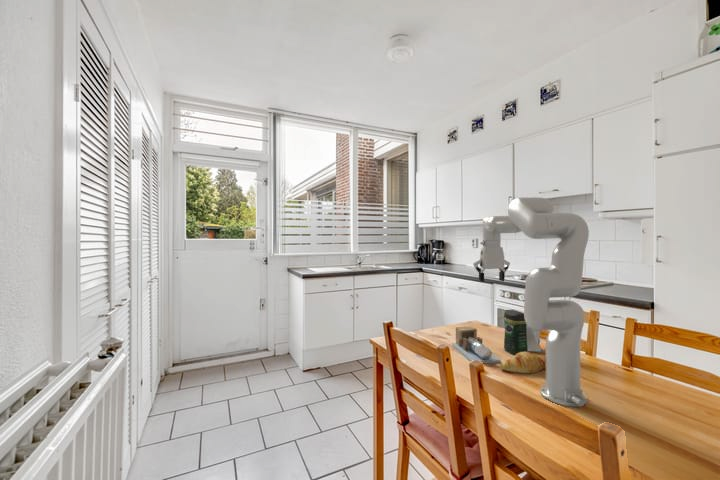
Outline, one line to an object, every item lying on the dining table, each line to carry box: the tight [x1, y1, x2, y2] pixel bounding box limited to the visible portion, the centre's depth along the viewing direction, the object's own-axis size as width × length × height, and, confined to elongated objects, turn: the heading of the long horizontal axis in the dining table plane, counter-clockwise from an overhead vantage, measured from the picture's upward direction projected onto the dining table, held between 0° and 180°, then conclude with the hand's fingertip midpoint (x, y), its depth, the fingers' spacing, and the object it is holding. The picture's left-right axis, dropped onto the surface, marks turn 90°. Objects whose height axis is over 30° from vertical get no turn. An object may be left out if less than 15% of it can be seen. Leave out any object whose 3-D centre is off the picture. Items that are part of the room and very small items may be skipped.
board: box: [451, 342, 502, 364], centre depth 143 cm, size 22×12×1 cm, turn 6°
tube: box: [467, 337, 493, 360], centre depth 139 cm, size 14×5×5 cm, turn 6°
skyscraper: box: [522, 291, 546, 354], centre depth 146 cm, size 8×8×28 cm
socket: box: [455, 326, 478, 346], centre depth 151 cm, size 4×8×8 cm, turn 96°
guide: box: [463, 336, 483, 351], centre depth 144 cm, size 3×8×5 cm, turn 96°
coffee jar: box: [503, 309, 528, 355], centre depth 144 cm, size 10×8×19 cm
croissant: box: [499, 352, 546, 374], centre depth 126 cm, size 21×10×8 cm, turn 100°
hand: (491, 281), depth 148 cm, fingers open, 9 cm apart
